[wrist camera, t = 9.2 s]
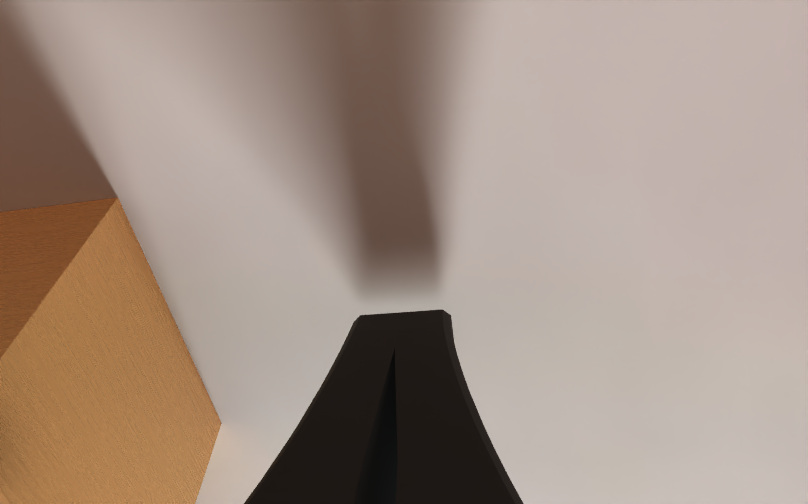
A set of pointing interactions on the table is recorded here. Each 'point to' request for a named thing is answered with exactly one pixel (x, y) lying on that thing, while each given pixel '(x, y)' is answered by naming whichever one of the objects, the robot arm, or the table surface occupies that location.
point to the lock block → (93, 367)
